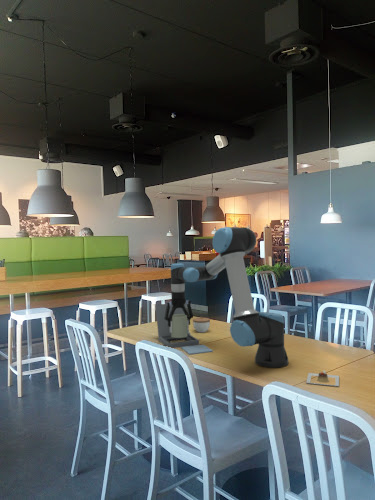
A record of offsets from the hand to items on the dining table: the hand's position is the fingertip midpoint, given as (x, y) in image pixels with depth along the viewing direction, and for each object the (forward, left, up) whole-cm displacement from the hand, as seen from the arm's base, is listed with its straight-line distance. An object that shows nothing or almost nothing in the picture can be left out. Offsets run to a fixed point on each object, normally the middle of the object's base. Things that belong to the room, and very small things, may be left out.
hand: (179, 331), depth 223 cm
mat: (-17, -4, -6) cm, 18 cm away
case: (+4, 0, -6) cm, 8 cm away
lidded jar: (+21, -22, -7) cm, 31 cm away
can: (0, 0, -3) cm, 3 cm away
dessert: (-78, -35, -7) cm, 86 cm away
